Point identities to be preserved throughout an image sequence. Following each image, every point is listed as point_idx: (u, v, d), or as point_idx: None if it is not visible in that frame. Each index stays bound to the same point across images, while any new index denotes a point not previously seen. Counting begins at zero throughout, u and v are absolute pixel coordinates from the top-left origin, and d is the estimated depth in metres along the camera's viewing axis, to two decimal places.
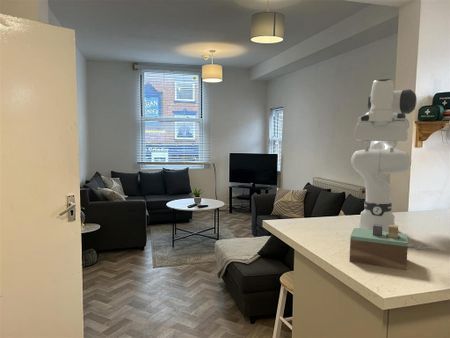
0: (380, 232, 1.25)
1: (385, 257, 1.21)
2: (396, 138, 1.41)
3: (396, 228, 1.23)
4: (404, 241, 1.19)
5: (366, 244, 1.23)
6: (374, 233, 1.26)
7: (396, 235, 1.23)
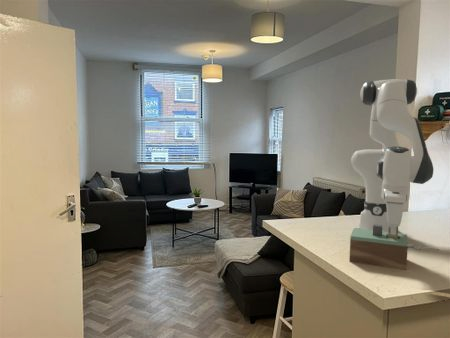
0: (380, 232, 1.25)
1: (385, 257, 1.21)
2: None
3: None
4: (404, 241, 1.19)
5: (366, 244, 1.23)
6: (374, 233, 1.26)
7: (396, 235, 1.23)
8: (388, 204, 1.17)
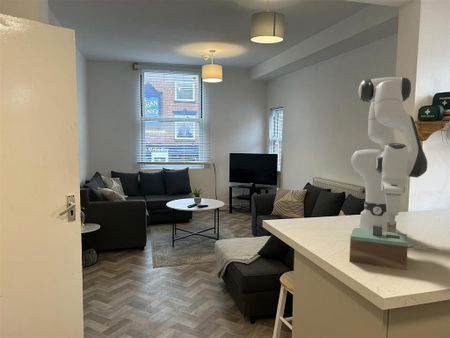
0: (380, 232, 1.25)
1: (385, 257, 1.21)
2: None
3: (394, 223, 1.34)
4: (404, 241, 1.19)
5: (366, 244, 1.23)
6: (374, 233, 1.26)
7: (394, 229, 1.34)
8: (387, 195, 1.27)
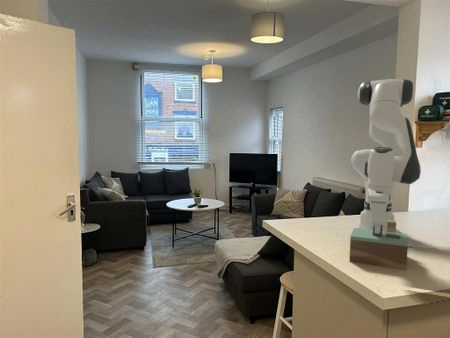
0: (380, 232, 1.25)
1: (385, 257, 1.21)
2: None
3: (394, 223, 1.34)
4: (404, 241, 1.19)
5: (366, 244, 1.23)
6: (374, 233, 1.26)
7: (394, 230, 1.34)
8: (372, 203, 1.19)
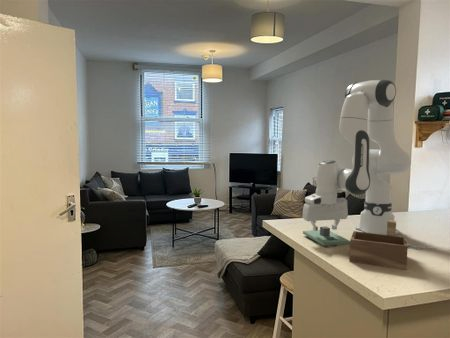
0: (322, 233, 1.53)
1: (385, 257, 1.21)
2: (339, 217, 1.53)
3: (394, 223, 1.34)
4: (325, 241, 1.45)
5: (366, 244, 1.23)
6: (320, 233, 1.55)
7: (394, 230, 1.34)
8: (305, 203, 1.53)
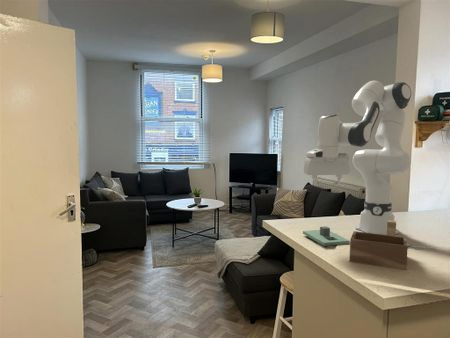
0: (322, 233, 1.53)
1: (385, 257, 1.21)
2: (341, 172, 1.51)
3: (394, 223, 1.34)
4: (325, 241, 1.45)
5: (366, 244, 1.23)
6: (320, 233, 1.55)
7: (394, 230, 1.34)
8: (306, 158, 1.51)
